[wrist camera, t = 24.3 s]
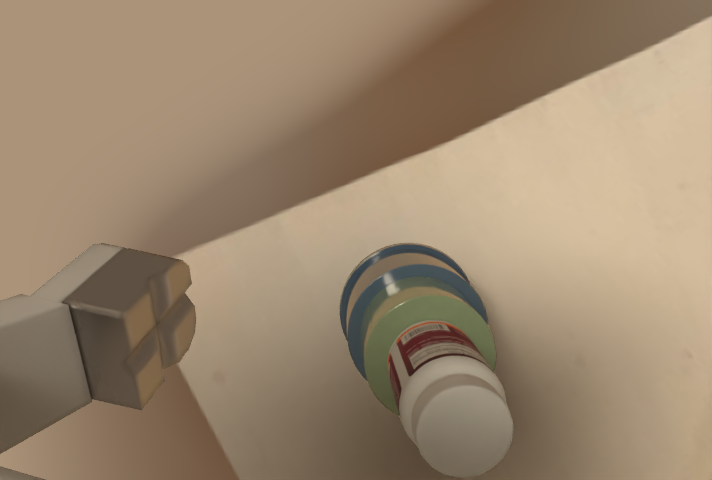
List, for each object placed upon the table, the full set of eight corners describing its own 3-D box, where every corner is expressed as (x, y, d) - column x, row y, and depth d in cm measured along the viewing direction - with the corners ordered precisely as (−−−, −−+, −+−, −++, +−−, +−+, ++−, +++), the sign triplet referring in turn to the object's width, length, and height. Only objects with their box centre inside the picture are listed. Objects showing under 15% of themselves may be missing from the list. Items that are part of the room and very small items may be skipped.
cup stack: (363, 389, 46) (374, 461, 36) (321, 267, 44) (322, 307, 34) (488, 348, 46) (534, 409, 36) (451, 224, 44) (489, 253, 34)
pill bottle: (451, 417, 36) (491, 504, 27) (371, 383, 35) (386, 462, 27) (491, 338, 35) (544, 404, 27) (410, 302, 35) (438, 358, 26)
